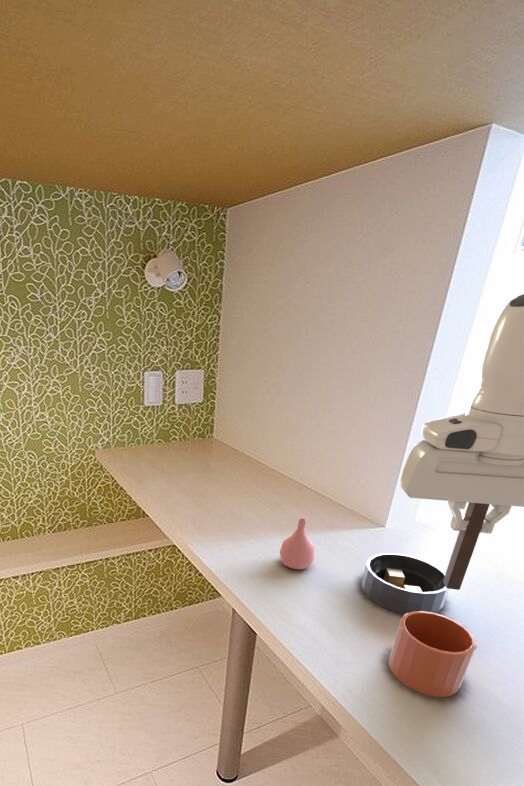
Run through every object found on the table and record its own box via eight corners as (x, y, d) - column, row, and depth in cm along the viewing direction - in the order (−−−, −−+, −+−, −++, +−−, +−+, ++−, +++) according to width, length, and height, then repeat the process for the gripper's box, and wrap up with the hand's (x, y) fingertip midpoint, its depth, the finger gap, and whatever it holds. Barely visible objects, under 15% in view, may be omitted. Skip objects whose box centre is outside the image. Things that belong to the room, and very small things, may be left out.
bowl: (428, 581, 96) (435, 557, 93) (452, 624, 82) (462, 598, 80) (355, 572, 98) (360, 549, 96) (367, 613, 85) (374, 587, 82)
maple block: (398, 581, 94) (401, 569, 92) (401, 589, 91) (405, 577, 90) (383, 580, 94) (386, 568, 93) (386, 587, 92) (389, 575, 90)
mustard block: (415, 599, 88) (419, 586, 87) (420, 607, 85) (424, 595, 84) (400, 596, 89) (403, 584, 87) (403, 605, 86) (407, 593, 85)
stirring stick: (455, 583, 66) (494, 470, 58) (459, 590, 64) (500, 474, 56) (442, 582, 66) (479, 469, 58) (446, 588, 64) (485, 473, 57)
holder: (445, 658, 74) (461, 615, 70) (468, 706, 65) (488, 660, 61) (381, 649, 76) (393, 607, 72) (395, 693, 67) (410, 648, 63)
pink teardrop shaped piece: (304, 557, 104) (311, 511, 99) (318, 574, 97) (327, 526, 92) (273, 559, 103) (279, 513, 98) (285, 576, 96) (292, 528, 91)
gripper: (581, 431, 56) (541, 528, 62) (410, 423, 60) (388, 514, 66) (615, 444, 50) (567, 549, 56) (424, 434, 54) (398, 533, 60)
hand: (469, 530), depth 61 cm, fingers closed on stirring stick, 2 cm apart
